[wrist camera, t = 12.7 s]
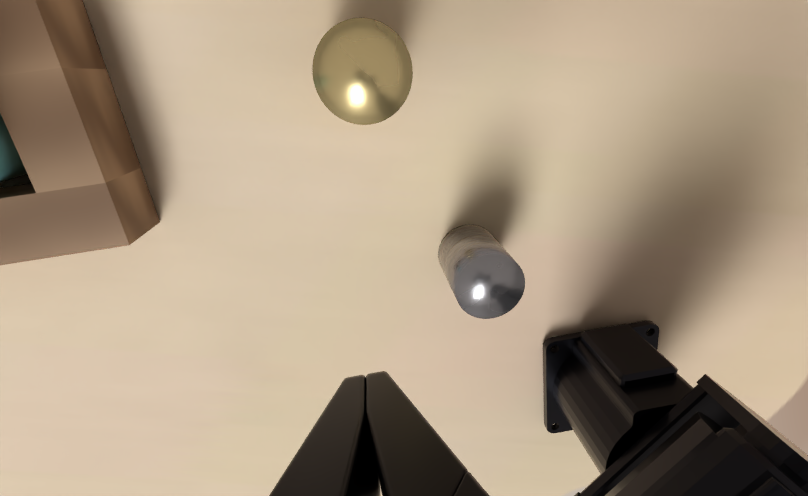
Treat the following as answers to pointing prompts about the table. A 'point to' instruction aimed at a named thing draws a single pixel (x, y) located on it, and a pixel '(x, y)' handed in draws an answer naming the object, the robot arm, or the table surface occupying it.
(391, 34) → the pin medium
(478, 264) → the pin short
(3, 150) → the pin long
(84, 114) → the hole block
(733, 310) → the table surface
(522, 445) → the table surface
